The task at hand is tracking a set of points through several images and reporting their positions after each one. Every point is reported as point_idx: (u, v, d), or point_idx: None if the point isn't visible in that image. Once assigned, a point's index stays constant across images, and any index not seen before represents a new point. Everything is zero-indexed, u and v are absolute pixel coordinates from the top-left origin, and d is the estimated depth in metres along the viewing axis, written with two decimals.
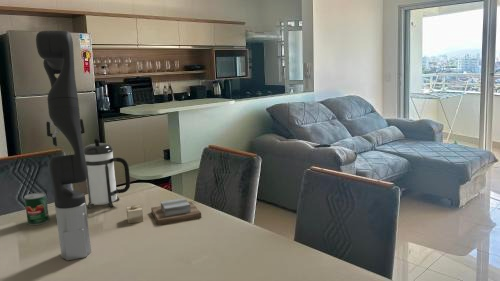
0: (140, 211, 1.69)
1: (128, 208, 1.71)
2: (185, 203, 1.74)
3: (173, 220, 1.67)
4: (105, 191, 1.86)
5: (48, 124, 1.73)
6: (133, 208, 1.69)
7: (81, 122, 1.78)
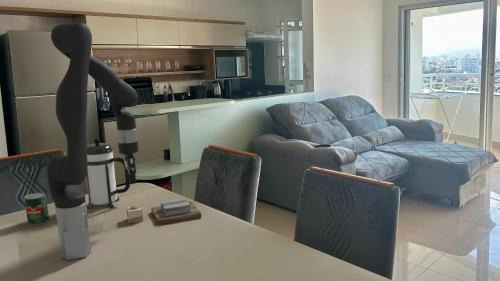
0: (140, 211, 1.69)
1: (128, 208, 1.71)
2: (185, 203, 1.74)
3: (173, 220, 1.67)
4: (105, 191, 1.86)
5: None
6: (133, 208, 1.69)
7: None
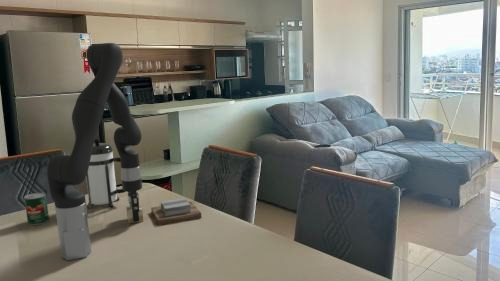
0: (140, 211, 1.69)
1: (128, 208, 1.71)
2: (185, 203, 1.74)
3: (173, 220, 1.67)
4: (105, 191, 1.86)
5: None
6: None
7: None
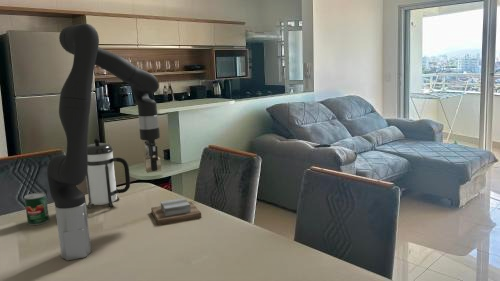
0: (158, 160, 1.68)
1: (146, 158, 1.70)
2: (185, 203, 1.74)
3: (173, 220, 1.67)
4: (105, 191, 1.86)
5: None
6: None
7: None
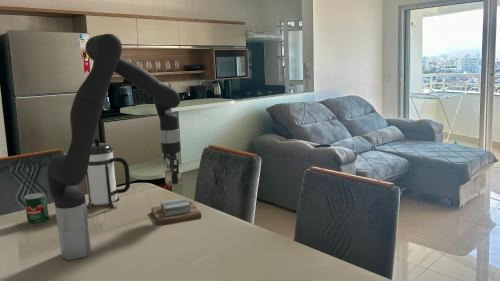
0: (179, 173, 1.71)
1: (167, 171, 1.72)
2: (185, 203, 1.74)
3: (173, 220, 1.67)
4: (105, 191, 1.86)
5: None
6: None
7: None
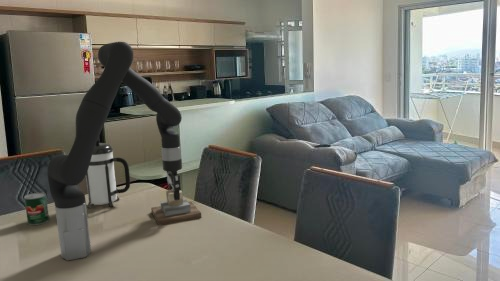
0: (180, 194, 1.72)
1: (168, 191, 1.74)
2: (185, 203, 1.74)
3: (173, 220, 1.67)
4: (105, 191, 1.86)
5: None
6: None
7: None
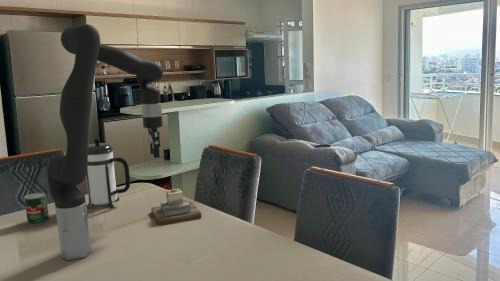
0: (180, 194, 1.72)
1: (168, 191, 1.74)
2: (185, 203, 1.74)
3: (173, 220, 1.67)
4: (105, 191, 1.86)
5: None
6: (173, 191, 1.72)
7: None
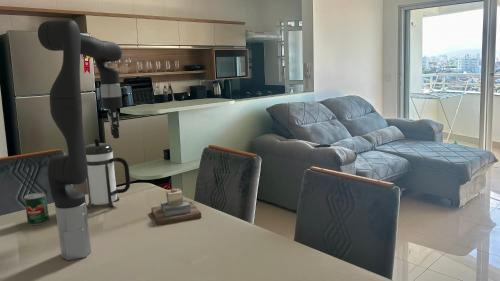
0: (180, 194, 1.72)
1: (168, 191, 1.74)
2: (185, 203, 1.74)
3: (173, 220, 1.67)
4: (105, 191, 1.86)
5: None
6: (173, 191, 1.72)
7: None
